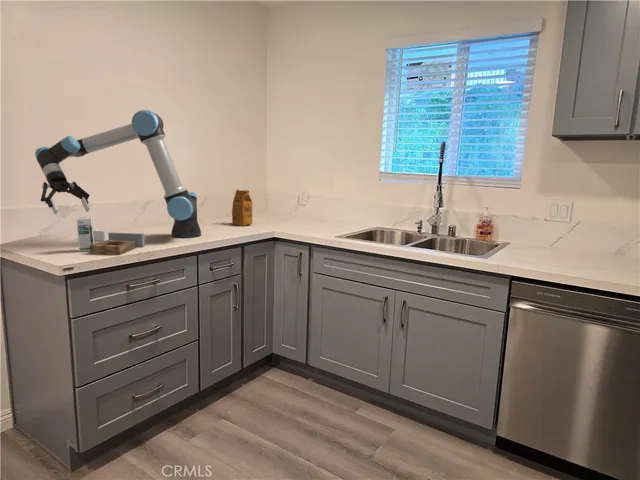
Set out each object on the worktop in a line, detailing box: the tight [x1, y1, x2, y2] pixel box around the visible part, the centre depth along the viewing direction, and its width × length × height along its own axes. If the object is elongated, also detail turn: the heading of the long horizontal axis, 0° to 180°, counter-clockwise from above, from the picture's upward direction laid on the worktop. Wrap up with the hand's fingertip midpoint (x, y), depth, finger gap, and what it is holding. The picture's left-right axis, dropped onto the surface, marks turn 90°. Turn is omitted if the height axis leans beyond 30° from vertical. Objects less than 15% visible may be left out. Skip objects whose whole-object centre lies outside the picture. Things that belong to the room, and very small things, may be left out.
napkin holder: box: [93, 228, 109, 242], centre depth 219 cm, size 15×11×6 cm
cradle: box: [89, 239, 136, 256], centre depth 192 cm, size 13×13×4 cm
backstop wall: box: [107, 232, 146, 248], centre depth 204 cm, size 16×2×6 cm, turn 86°
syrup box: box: [76, 216, 95, 253], centre depth 192 cm, size 6×6×14 cm
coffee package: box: [231, 188, 253, 227], centre depth 275 cm, size 10×12×22 cm
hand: (72, 211), depth 197 cm, fingers open, 13 cm apart
